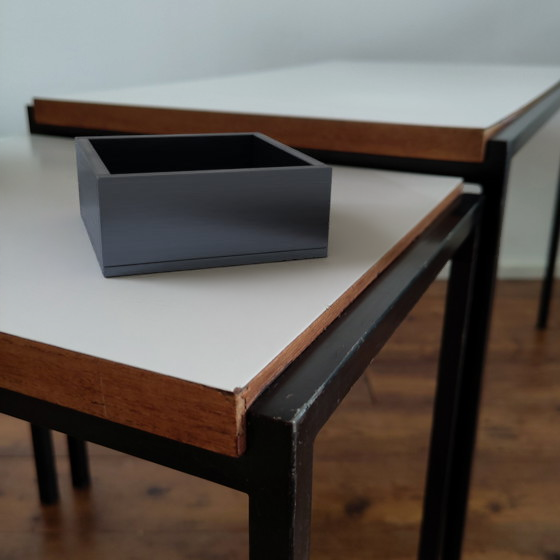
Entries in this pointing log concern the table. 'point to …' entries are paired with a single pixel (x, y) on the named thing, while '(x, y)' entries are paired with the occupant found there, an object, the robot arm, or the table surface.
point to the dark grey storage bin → (200, 201)
